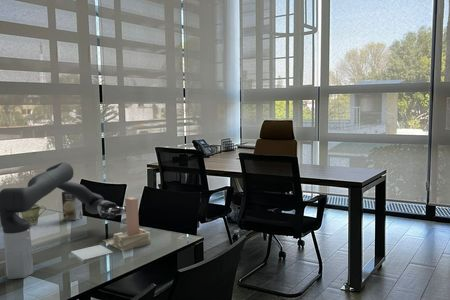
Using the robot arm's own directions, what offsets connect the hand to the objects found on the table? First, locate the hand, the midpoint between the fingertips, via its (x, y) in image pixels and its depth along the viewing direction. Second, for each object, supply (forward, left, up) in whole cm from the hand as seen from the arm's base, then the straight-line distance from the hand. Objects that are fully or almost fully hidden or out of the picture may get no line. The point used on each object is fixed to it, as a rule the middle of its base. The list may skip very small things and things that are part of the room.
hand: (122, 214), depth 202 cm
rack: (-8, -2, -12) cm, 15 cm away
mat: (-19, +12, -12) cm, 25 cm away
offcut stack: (-12, 0, -11) cm, 16 cm away
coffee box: (+51, +31, -13) cm, 61 cm away
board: (-9, -5, -11) cm, 15 cm away
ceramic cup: (+46, +51, -13) cm, 70 cm away
